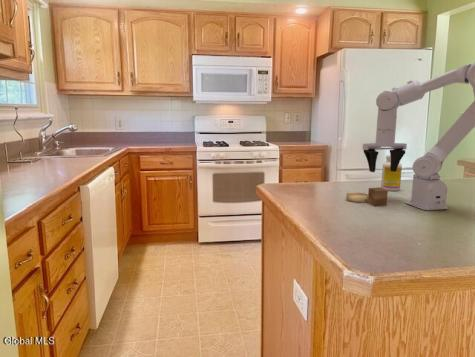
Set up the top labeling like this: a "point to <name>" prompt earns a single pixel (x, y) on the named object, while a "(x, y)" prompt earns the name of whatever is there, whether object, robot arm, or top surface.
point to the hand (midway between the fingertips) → (382, 171)
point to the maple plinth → (357, 197)
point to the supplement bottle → (390, 176)
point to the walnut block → (377, 196)
